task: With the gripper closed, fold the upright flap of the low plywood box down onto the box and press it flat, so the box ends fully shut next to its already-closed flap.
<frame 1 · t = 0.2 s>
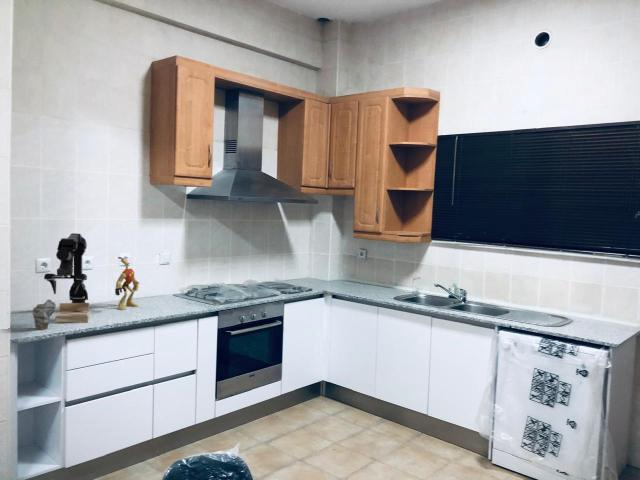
hand: (64, 294, 266), 15 cm above the worktop, tool pointing down, fingers open, 9 cm apart
plywood box: (72, 320, 276), on the worktop
toy: (125, 308, 311), on the worktop
flap: (74, 306, 281), point 6 cm above the worktop, hinge at 100.0°
rock: (43, 328, 258), on the worktop
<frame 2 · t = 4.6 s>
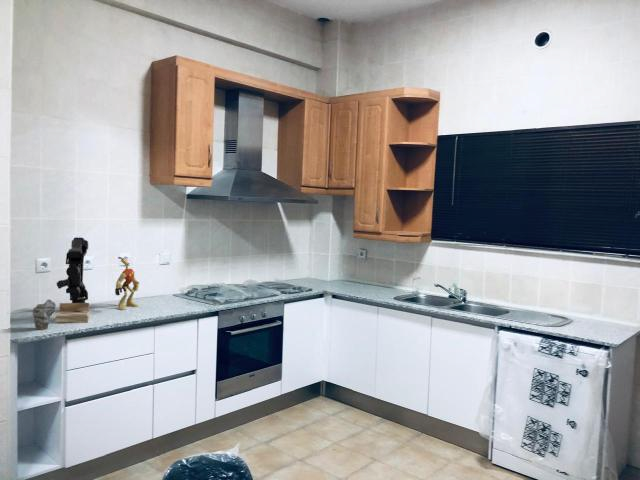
hand: (74, 303, 282), 8 cm above the worktop, tool pointing down, fingers closed, pressing on flap
flap: (74, 306, 281), point 6 cm above the worktop, hinge at 99.0°, touching gripper
everything else where it was.
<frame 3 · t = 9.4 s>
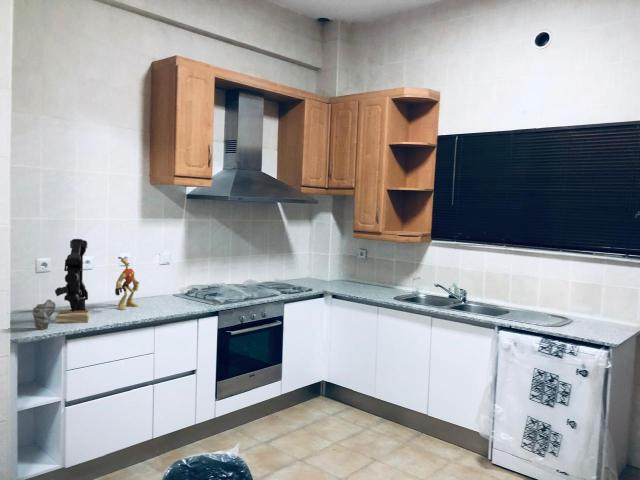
hand: (73, 311, 276), 5 cm above the worktop, tool pointing down, fingers closed, pressing on flap
flap: (73, 311, 278), point 4 cm above the worktop, hinge at 10.0°, touching gripper
everything else where it was.
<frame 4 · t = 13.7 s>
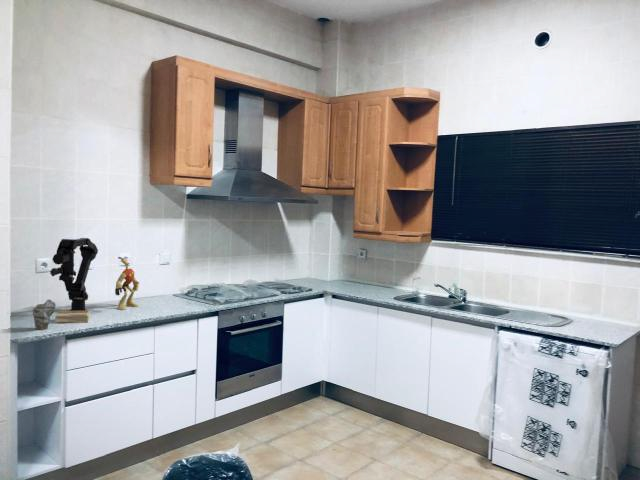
hand: (67, 291, 287), 13 cm above the worktop, tool pointing down, fingers closed
flap: (73, 311, 278), point 4 cm above the worktop, hinge at 4.6°
everything else where it was.
at the end: flap at +5° (first picture: +100°); flap touching nothing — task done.
